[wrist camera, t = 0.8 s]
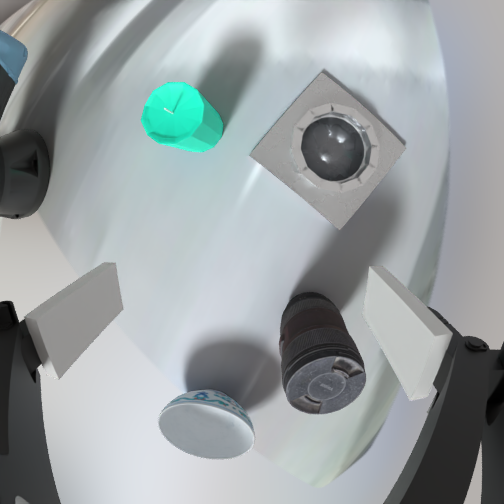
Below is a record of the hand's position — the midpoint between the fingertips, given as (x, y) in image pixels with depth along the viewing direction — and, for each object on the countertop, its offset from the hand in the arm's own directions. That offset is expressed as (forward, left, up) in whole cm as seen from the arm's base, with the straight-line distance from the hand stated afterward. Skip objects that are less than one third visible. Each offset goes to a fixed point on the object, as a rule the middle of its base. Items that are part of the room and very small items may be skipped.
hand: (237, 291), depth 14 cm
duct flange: (+1, +13, -22) cm, 25 cm away
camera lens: (+13, -5, -22) cm, 26 cm away
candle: (-13, +5, -22) cm, 26 cm away
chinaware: (+13, -28, -22) cm, 38 cm away
